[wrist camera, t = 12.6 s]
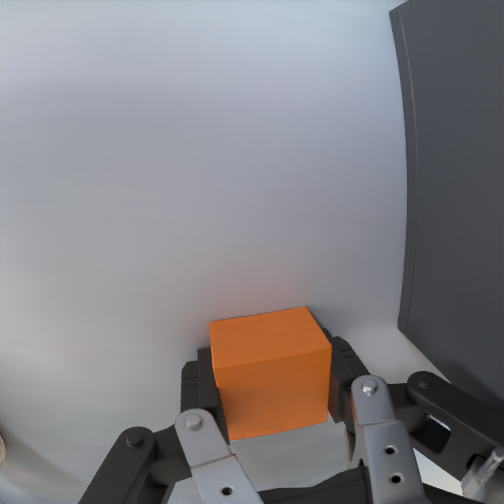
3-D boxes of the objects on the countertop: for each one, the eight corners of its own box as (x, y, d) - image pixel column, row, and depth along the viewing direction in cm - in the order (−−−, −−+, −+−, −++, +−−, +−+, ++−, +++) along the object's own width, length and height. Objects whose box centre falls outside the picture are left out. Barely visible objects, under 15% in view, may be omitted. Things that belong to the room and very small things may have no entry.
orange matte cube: (209, 321, 13) (212, 367, 10) (306, 305, 13) (332, 345, 10) (223, 393, 14) (229, 441, 11) (307, 377, 14) (327, 421, 12)
